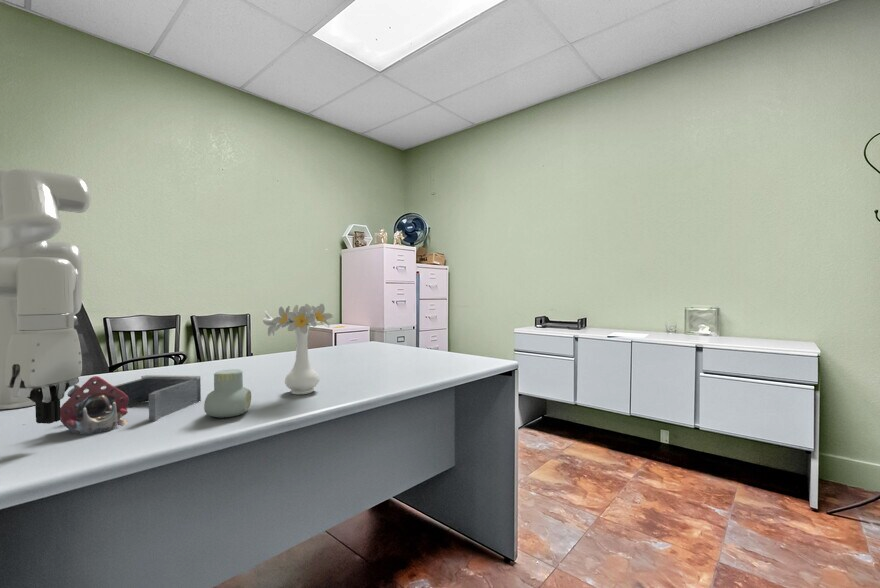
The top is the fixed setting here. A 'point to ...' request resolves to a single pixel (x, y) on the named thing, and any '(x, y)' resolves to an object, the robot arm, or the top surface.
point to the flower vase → (300, 343)
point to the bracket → (161, 393)
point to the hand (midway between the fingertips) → (48, 421)
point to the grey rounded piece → (228, 395)
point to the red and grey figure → (93, 408)
